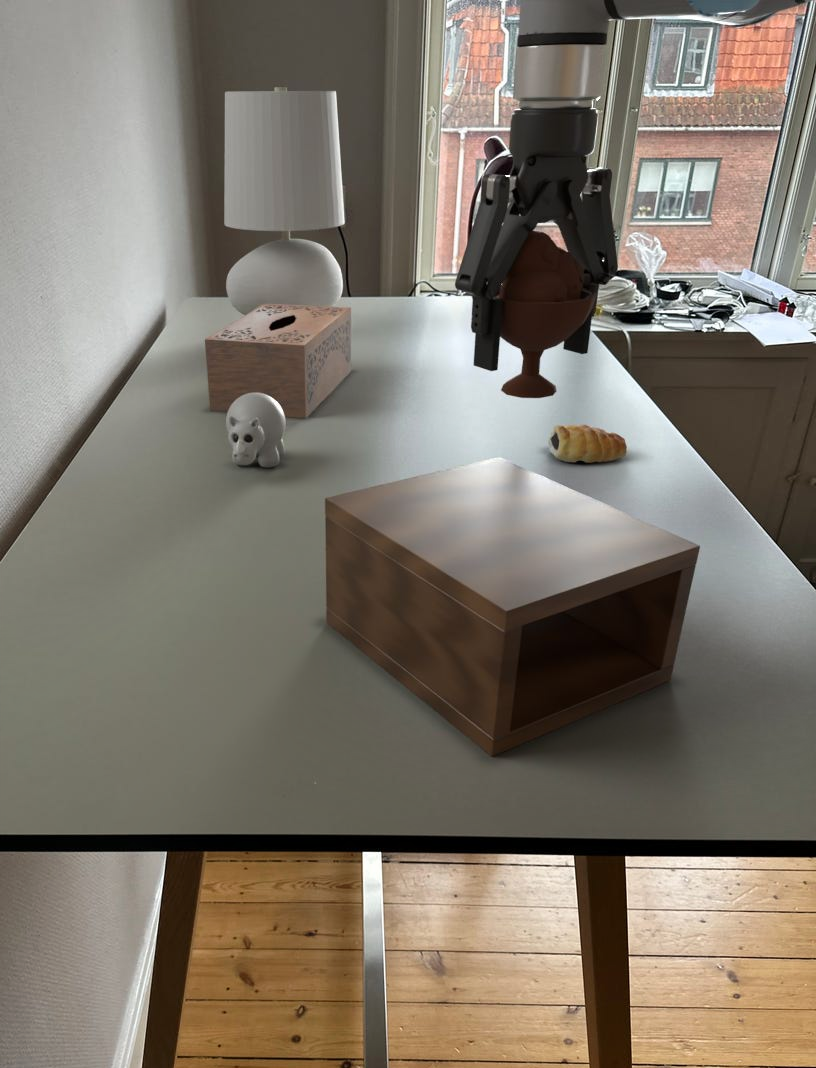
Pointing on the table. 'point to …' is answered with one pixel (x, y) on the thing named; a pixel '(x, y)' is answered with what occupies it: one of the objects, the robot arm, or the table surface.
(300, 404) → the tissue box cover
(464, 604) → the shelf
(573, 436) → the pastry
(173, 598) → the table surface
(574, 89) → the robot arm
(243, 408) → the chubby cartoon animal
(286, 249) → the table lamp
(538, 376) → the ice cream bowl
